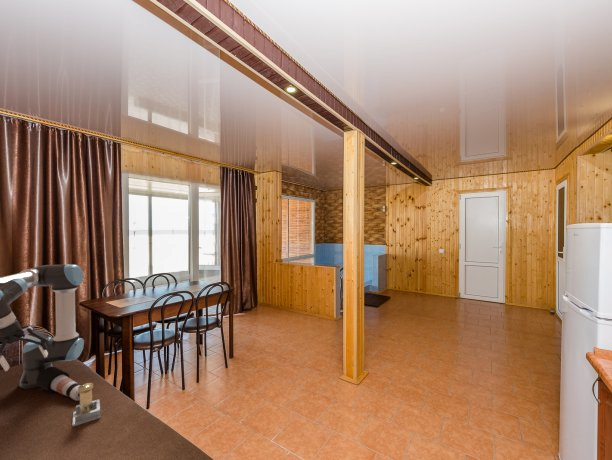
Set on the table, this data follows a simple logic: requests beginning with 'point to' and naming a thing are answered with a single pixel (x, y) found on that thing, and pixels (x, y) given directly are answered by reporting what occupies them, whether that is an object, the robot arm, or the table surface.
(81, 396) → the end pin
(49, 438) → the table surface
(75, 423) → the keeper bracket
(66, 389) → the cable
